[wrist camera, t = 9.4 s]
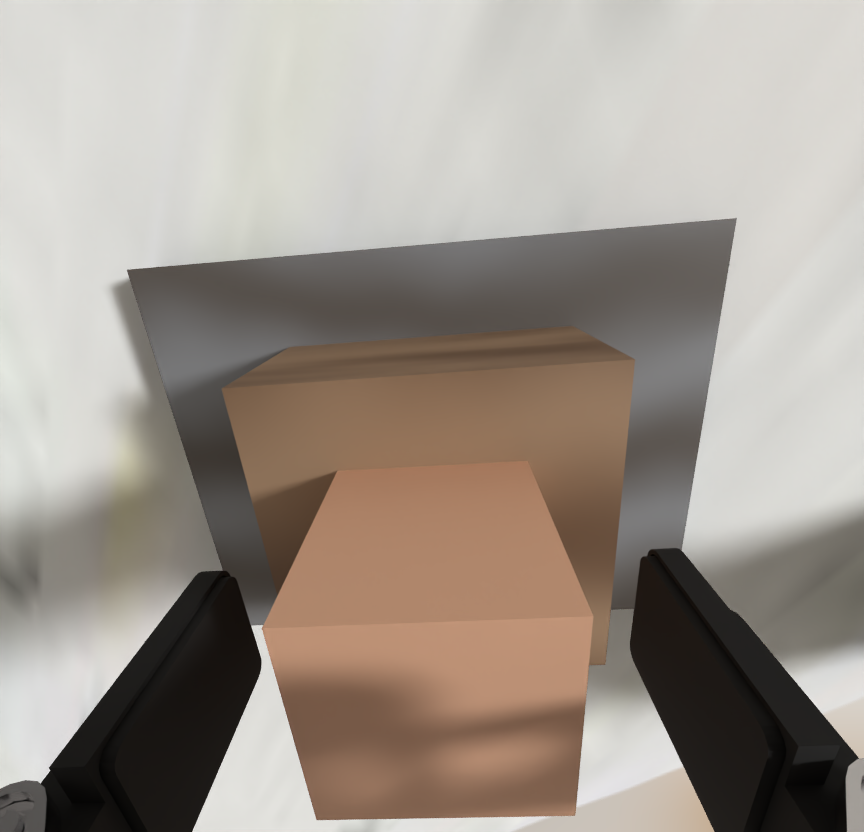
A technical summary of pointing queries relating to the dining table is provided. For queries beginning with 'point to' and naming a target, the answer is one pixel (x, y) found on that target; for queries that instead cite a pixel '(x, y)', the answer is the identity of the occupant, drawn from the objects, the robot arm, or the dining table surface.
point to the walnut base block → (444, 431)
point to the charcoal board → (450, 315)
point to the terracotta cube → (434, 647)
